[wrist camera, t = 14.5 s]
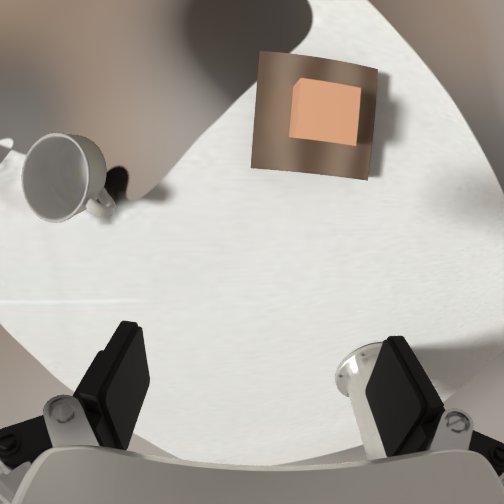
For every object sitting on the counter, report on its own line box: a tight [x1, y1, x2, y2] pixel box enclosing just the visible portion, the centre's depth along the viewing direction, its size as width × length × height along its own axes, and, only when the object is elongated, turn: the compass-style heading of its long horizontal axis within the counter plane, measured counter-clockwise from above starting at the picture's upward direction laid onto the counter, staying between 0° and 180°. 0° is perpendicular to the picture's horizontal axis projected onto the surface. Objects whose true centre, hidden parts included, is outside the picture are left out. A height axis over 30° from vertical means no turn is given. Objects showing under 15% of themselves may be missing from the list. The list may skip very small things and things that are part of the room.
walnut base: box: [251, 51, 378, 181], centre depth 34 cm, size 14×14×3 cm
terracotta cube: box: [289, 78, 361, 146], centre depth 30 cm, size 6×6×6 cm
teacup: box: [21, 133, 115, 223], centre depth 35 cm, size 14×11×8 cm
